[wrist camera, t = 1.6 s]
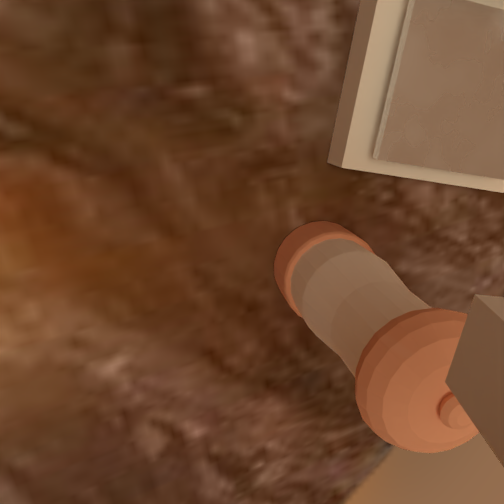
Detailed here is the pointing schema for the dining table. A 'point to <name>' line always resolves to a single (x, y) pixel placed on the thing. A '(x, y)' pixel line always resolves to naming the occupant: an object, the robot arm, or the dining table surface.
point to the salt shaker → (377, 335)
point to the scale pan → (447, 90)
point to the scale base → (381, 98)
